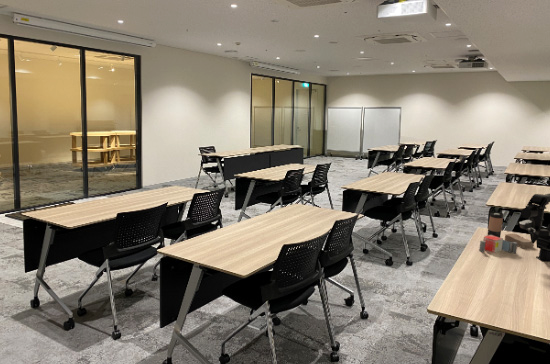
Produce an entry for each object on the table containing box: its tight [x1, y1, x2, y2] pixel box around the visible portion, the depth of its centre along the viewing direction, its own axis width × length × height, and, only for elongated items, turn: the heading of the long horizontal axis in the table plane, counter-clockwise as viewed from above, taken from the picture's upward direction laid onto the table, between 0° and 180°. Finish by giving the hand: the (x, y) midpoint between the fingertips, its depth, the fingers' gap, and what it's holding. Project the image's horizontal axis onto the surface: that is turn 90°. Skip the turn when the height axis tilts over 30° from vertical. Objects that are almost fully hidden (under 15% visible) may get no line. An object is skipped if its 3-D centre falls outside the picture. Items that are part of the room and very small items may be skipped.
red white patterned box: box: [482, 234, 504, 253], centre depth 264 cm, size 8×8×8 cm
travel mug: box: [486, 211, 504, 238], centre depth 276 cm, size 8×8×20 cm
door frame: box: [478, 240, 518, 254], centre depth 260 cm, size 2×21×6 cm, turn 88°
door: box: [501, 239, 513, 254], centre depth 265 cm, size 3×16×6 cm, turn 35°
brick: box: [504, 233, 535, 249], centre depth 277 cm, size 17×8×5 cm, turn 14°
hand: (532, 242), depth 242 cm, fingers closed
